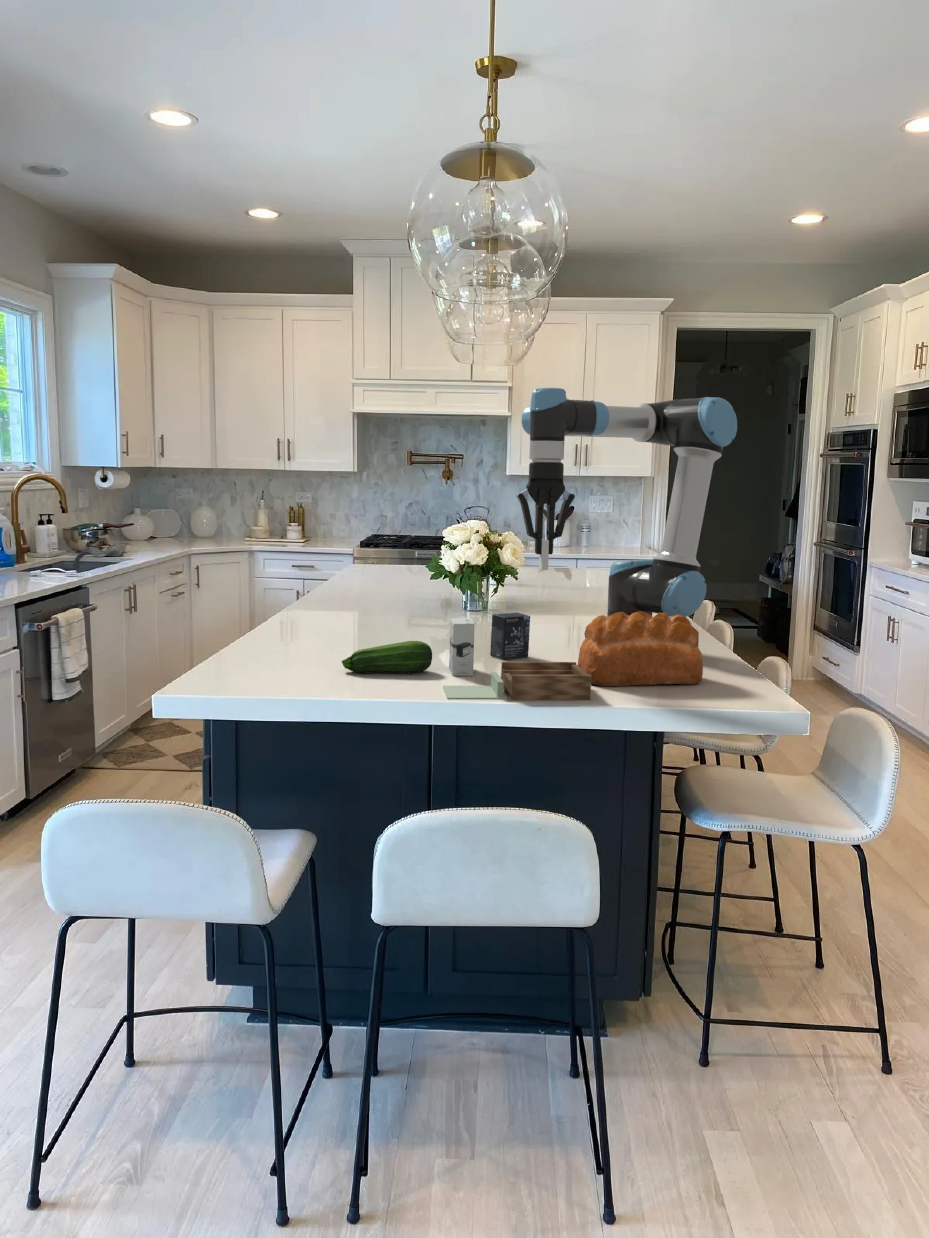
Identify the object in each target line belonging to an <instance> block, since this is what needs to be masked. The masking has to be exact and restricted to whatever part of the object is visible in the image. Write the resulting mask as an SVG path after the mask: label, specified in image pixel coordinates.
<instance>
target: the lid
mask: <svg viewBox="0 0 929 1238" xmlns="http://www.w3.org/2000/svg"><path fill="white" fill-rule="evenodd" d="M503 686H504V682H503V680H502V679H501V675H499V673H498V672H497V671H493V672H492V671H491V672H490V685H442V688H443V692H444V693H445V696H446V699H447V700H508V697H509V696H508V695H507V693H506V692H505V690H504V689H503Z"/></svg>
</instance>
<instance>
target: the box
mask: <svg viewBox="0 0 929 1238" xmlns="http://www.w3.org/2000/svg"><path fill="white" fill-rule="evenodd" d="M530 628H531V616H530V615H528V614H524V613H522V612H521V613H520V612H507V613H492V615H491V631H490V633H491V635H490V652H489V654H490V657H493V658H495V659H499V660H502V661H505V660H512V659H513V660H514V659H524V658H525V659H526V658H527V659H528V658H529V649H530V646H529V645H530V631H531V630H530Z"/></svg>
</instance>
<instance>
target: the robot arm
mask: <svg viewBox="0 0 929 1238" xmlns="http://www.w3.org/2000/svg"><path fill="white" fill-rule="evenodd" d="M521 427H522V429H523V430H524V432H525V433H526V434H527V435H529V440H530V441H529V456H528V458H529V460H531V462H529V463H528V482H527V484H526V487H525V489H524V490H522V491H521V492H518V493H516V495H515V496H516V498H517V500H518V502H519V504H520V507H521V511H522V512H521V513H522V518H523V522H524V526H525V530H526V535H527V536H528V537H531V538H533V539H534V553H535V555H538V569H539V570H541V571H548V570H549V555H553V553H554V541H555V539H557V538H560V537H562V536H563V532H564V529H565V525H566V521H567V517H568V514H569V510H570V506H571V504H572V502H573V501H574V499H575V497H576V495H575V494H574V493H571V492H570V491H568V490H567V489H566V486H565V483H564V473H565V472H564V470H565V469H564V468H565V465H564V463H563V462H562V461H563V460H565V438H566V437H580V438H581V437H585V438H586V437H589V438H626V439H627V438H631V439H632V440H634V441H636V442H638V443H651V444H655V445H656V444H658V445H663V446H668V447H669V446H671V447H673V451H674V452H675V454H676V455H677V457H678V459H677V464H676V469H675V476H674V481H673V486H672V490H671V491H672V492H671V496H670V497H671V498H670V501H669V508H668V512H667V518H666V524H665V529H664V533H663V538H662V539H663V540H662V545H661V550H660V552H659V553H658V554H657V555H656V556H654V557H653V559H647V560H646V559H641V560H624V561H623V560H621V561H615V562H614V561H613V562H612V563H611V565H610V569H609V575H608V589H607V591H608V593H607V616H606V617H609V616H611V615H612V614H614V613H617V612H624V613H626V614H627V615H629V616H630V615H631V614H632V613H635V612H638V611H642V612H646V613H648V614H650V615H651V616H652V617H653V614H658V613H666V614H667V615H668V616H669V617H673V616H675V615H678V614H680V615H682V616H684V617H686V618H687V617H689V616H692V615H693V614H694V613H695V612H696V611H698V610H699V609H700V607H702V605H703V603H704V600H705V598H706V593H707V583H706V579H705V577H704V576H703V574H702V573H700V571H701V570H700V569H701V564H700V563H699V561H698V560H697V553H698V548H699V542H700V538H701V537H700V536H701V532H702V526H703V523H704V522H703V521H704V516H705V512H706V511H705V510H706V506H707V498H708V495H709V489H710V483H711V479H712V475H713V468H714V465H715V462H716V461H717V460H719V459H720V458H721V457H722V454H723V450H724V447H727V446H728V445H730V444H731V443H732V441H734V440H735V438H736V435H737V432H738V418H737V414H736V412H735V411H734V407H733V406H732V404H731V403H730V402H729V401H727V399H725V398H722V397H710V396H705V397H697V398H682V399H681V398H679V399H671V400H665V401H660V402H659V401H657V402H652V403H645V402H644V403H642V402H641V403H638V404H637V405H635V406H620V405H619V406H618V405H617V406H616V405H615V406H614V405H606V404H604V403H603V402H601V401H596V400H592V399H591V400H586V399H585V400H584V399H583V400H581V399H568V397H567V392H566V390H565V389H564V388H559V387H538V388H535V389H533V391H532V392H531V397H530V404H529V405H528V406H527V407H525V408H524V410H523V412H522V414H521ZM529 496H530V498H531V499H532V501H533V502H534V504H535V505H534V506H535V514H534V515H535V518H534V519H535V520H534V524H533V521H532V516H531V510H530V505H529V502H528V501H529ZM560 498H561V499H562V502H561V507H560V510H559V514H558V517H557V522H556V525H555V514H556V513H555V512H556V503H557V502H558V501H559V499H560ZM545 505H546V525H545V526H546V528H545V529H546V531H545V532H546V533H545V538H546V539H544V538H543V534H544V533H543V532H544V531H543V529H544V526H543V525H544V508H545Z"/></svg>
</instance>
